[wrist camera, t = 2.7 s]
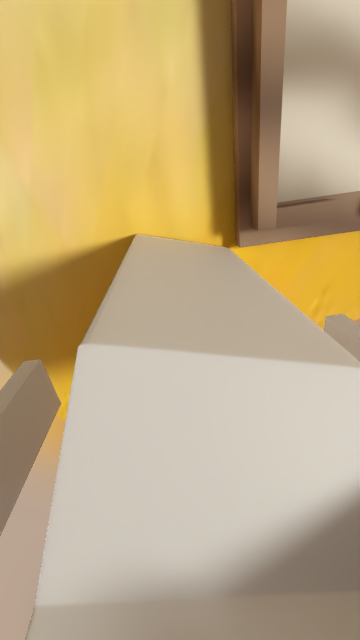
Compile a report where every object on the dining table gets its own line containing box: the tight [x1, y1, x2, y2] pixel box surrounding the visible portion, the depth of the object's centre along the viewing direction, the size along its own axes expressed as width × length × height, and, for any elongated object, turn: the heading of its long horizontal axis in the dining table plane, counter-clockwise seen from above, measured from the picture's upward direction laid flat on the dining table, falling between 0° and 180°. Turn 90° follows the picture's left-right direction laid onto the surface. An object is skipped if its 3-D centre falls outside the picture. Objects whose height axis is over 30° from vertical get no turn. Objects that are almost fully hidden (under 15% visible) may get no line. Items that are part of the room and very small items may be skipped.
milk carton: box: [25, 234, 360, 640], centre depth 12 cm, size 7×7×19 cm
